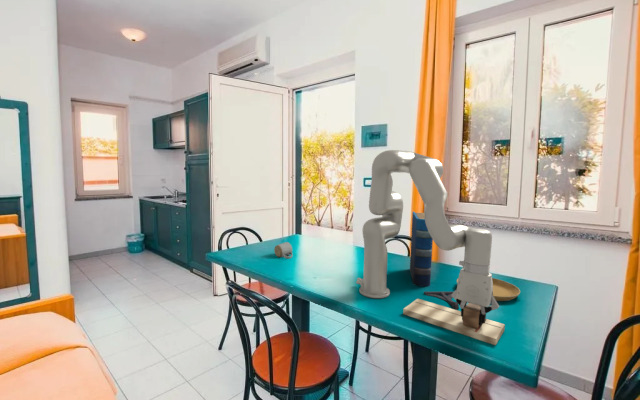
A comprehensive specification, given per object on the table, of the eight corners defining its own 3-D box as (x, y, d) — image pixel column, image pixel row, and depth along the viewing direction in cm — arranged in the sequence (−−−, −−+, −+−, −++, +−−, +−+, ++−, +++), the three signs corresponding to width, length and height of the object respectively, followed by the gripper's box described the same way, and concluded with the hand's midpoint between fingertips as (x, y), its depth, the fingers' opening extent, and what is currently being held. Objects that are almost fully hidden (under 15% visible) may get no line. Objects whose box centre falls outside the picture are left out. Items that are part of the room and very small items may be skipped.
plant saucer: (510, 285, 146) (511, 278, 146) (527, 308, 123) (528, 299, 123) (453, 279, 153) (453, 272, 153) (459, 299, 130) (460, 291, 130)
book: (434, 288, 141) (438, 220, 138) (413, 286, 143) (417, 219, 140) (427, 270, 165) (430, 212, 162) (409, 269, 166) (412, 211, 163)
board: (403, 314, 116) (403, 308, 116) (417, 303, 125) (417, 298, 125) (495, 345, 96) (496, 338, 96) (504, 330, 105) (504, 324, 105)
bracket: (437, 310, 120) (438, 303, 120) (423, 294, 135) (424, 288, 135) (475, 311, 121) (476, 304, 121) (457, 295, 136) (457, 288, 135)
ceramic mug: (273, 256, 187) (273, 243, 186) (284, 253, 193) (284, 240, 192) (285, 260, 179) (285, 246, 179) (296, 257, 185) (296, 244, 184)
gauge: (462, 324, 104) (463, 308, 104) (471, 314, 111) (472, 299, 111) (477, 328, 101) (478, 312, 101) (485, 318, 108) (486, 302, 108)
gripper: (445, 264, 106) (442, 317, 108) (503, 276, 95) (498, 335, 97) (453, 259, 111) (450, 310, 113) (508, 270, 100) (504, 326, 102)
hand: (472, 321), depth 105 cm, fingers closed on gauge, 4 cm apart
